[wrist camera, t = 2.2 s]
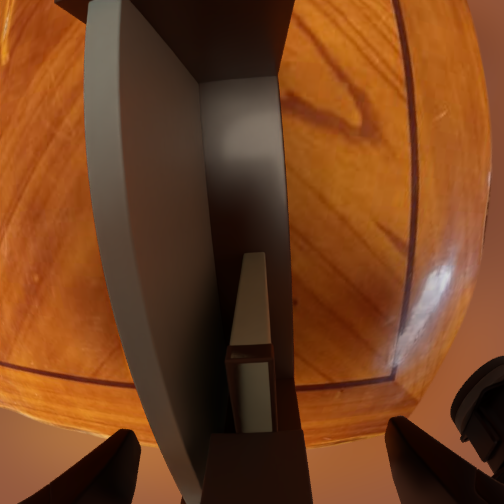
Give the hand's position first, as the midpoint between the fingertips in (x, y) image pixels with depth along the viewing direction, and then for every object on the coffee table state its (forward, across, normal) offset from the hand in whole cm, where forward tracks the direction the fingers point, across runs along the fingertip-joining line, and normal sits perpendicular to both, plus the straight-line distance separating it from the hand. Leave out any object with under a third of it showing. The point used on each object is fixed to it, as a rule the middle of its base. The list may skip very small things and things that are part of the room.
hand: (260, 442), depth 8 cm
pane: (+8, 0, 0) cm, 8 cm away
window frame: (+10, +1, -4) cm, 10 cm away
